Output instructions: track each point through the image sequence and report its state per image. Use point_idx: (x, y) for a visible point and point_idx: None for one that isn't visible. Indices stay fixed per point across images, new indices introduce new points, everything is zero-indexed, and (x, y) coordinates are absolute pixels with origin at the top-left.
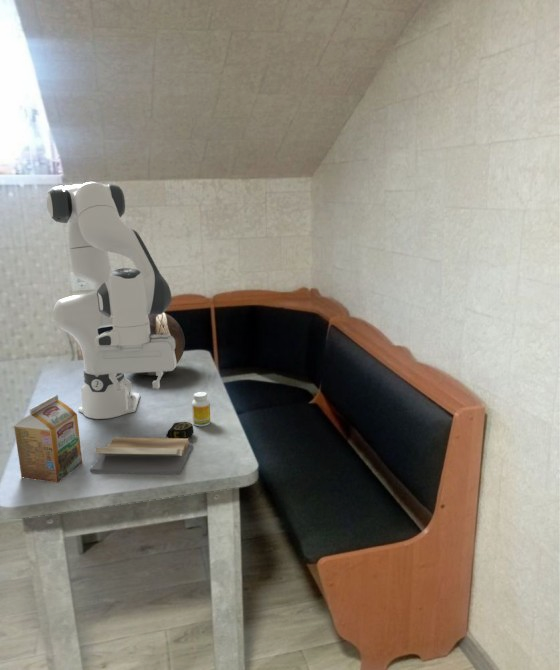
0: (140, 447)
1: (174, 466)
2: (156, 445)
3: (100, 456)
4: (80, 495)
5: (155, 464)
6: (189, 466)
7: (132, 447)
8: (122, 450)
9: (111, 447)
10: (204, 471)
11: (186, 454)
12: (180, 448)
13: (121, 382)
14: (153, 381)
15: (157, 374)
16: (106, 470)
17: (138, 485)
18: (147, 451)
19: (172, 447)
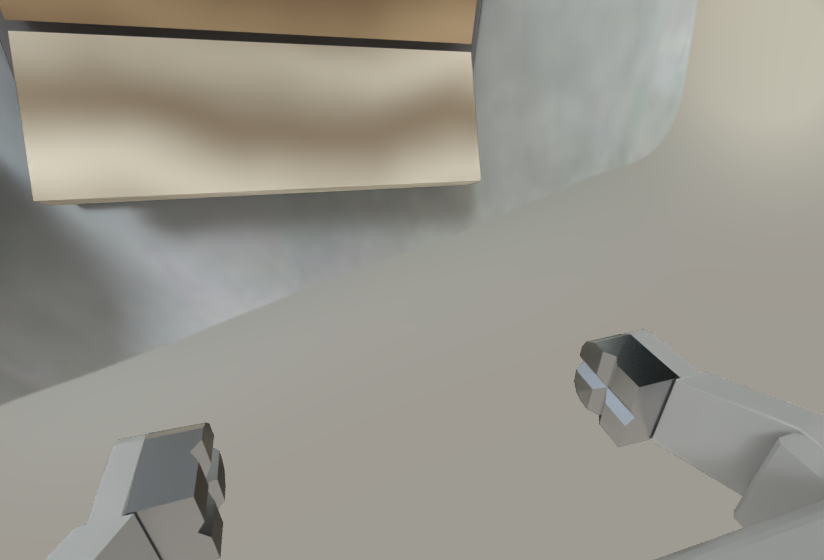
0: (240, 7)
1: None
2: None
3: (6, 57)
4: (150, 343)
5: None
6: (482, 116)
7: (188, 4)
8: (217, 195)
9: (144, 196)
10: (532, 152)
11: (475, 35)
12: (460, 26)
13: (199, 512)
14: (633, 414)
15: (759, 521)
16: None
17: (328, 262)
18: (348, 188)
19: (420, 13)
